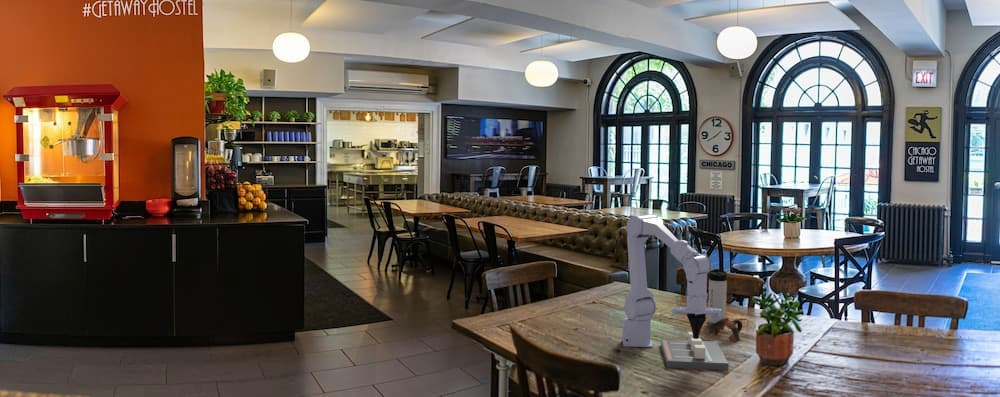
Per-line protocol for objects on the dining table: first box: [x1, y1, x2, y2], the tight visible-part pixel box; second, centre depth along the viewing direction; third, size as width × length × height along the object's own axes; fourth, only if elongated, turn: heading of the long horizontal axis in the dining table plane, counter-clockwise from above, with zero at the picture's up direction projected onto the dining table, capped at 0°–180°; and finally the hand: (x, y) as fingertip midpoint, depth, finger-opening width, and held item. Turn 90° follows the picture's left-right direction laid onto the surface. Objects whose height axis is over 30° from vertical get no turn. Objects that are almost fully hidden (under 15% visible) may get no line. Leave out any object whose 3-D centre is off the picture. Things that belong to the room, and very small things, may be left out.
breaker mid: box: [691, 337, 703, 351], centre depth 223 cm, size 3×3×3 cm
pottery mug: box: [708, 316, 743, 343], centre depth 245 cm, size 12×10×8 cm
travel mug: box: [707, 268, 728, 326], centre depth 262 cm, size 6×7×20 cm
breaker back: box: [687, 331, 693, 345], centre depth 230 cm, size 3×3×3 cm
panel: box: [660, 339, 729, 371], centre depth 224 cm, size 18×22×2 cm
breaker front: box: [694, 345, 705, 359], centre depth 217 cm, size 3×3×3 cm
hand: (695, 338), depth 216 cm, fingers closed
